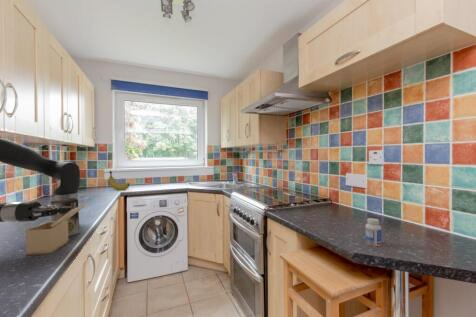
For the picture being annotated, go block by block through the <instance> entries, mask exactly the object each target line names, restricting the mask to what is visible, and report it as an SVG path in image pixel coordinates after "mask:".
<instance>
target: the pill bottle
mask: <svg viewBox="0 0 476 317" xmlns="http://www.w3.org/2000/svg"><path fill="white" fill-rule="evenodd" d="M364 229H365V243H366V244H367V245H369V246H372V247H380V246H382V243H383V242H382V226H381V225H380V220H379V219H378V218H373V217H368V218H367V220H366V224H365V228H364Z"/></svg>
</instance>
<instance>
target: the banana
mask: <svg viewBox="0 0 476 317" xmlns="http://www.w3.org/2000/svg"><path fill="white" fill-rule="evenodd" d="M109 174H110V176H109V177H108V180H107V181H108V185H109V186H110V187H111V188H112V189H114V190H116V191H124V190H127V189H129V187H130V182H129V183H128V182H127V183H123V184H121V183H118V181H117V180H116V179H115V178H114V177H113V172H112V171H111V170H109Z"/></svg>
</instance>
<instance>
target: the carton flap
mask: <svg viewBox="0 0 476 317" xmlns="http://www.w3.org/2000/svg"><path fill="white" fill-rule="evenodd" d="M86 206H87V205H86V204H85V203H83V204H81V205H80V206H79V205H78V207H77V208H75V209H72V210H71V211H69V212H68V213H67V214H65V215H64V216H62V217H61V218H60V219H58V220H57V221H56V222H54V223H53V224H52V225H50V226H51V227H53V226H55V225H57V224H59V223H61V222H63V221H65V220H67V219H69V218H70V217H71V216H73V215H74V214H75V213H77V212H78V211H81V210H82V209H83V208H85V207H86Z"/></svg>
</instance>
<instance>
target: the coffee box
mask: <svg viewBox="0 0 476 317" xmlns="http://www.w3.org/2000/svg"><path fill="white" fill-rule="evenodd" d="M54 204H59V205H64V207H73V209H75V208H77V207H79V198H78V199H76V198H70V199H63V200H56V201H55V200H51V201H50V205H54ZM79 211H80V210H79ZM79 211H78V212H77V213H75V214H74V215H73V216H71V217H70V218H69V219H67V220H65V221H68V237H70V236H74V235H78V234H80V213H79ZM65 214H67V213H60V214H55V215H53V216H50V218H51V221H50V222H52V221H57V220H58V219H60V218H61V217H62V216H64V215H65Z"/></svg>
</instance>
